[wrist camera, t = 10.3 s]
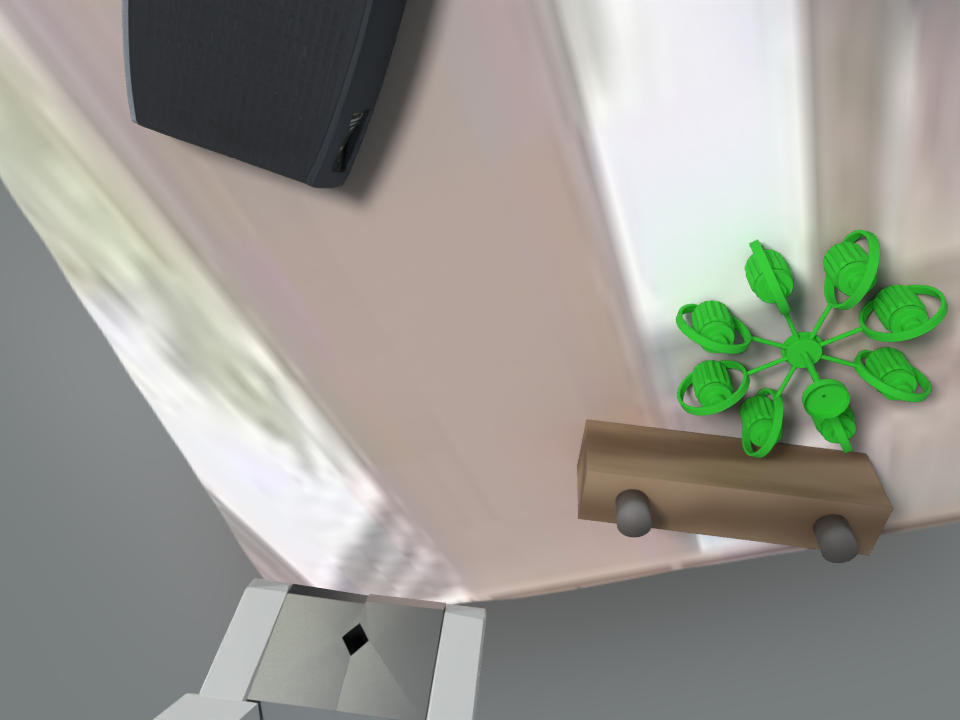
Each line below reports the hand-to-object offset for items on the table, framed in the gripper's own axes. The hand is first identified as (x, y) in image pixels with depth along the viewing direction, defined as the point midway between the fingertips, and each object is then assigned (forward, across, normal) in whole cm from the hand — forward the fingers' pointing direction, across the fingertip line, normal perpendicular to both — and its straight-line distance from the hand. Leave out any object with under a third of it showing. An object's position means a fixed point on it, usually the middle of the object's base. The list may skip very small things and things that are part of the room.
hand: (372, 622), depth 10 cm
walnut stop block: (+34, -16, +24) cm, 45 cm away
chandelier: (+35, -18, +14) cm, 41 cm away
